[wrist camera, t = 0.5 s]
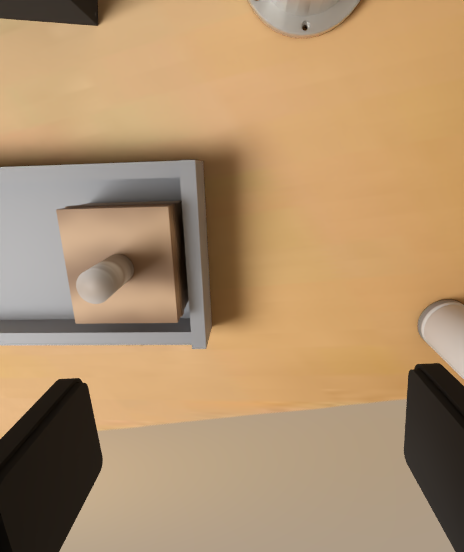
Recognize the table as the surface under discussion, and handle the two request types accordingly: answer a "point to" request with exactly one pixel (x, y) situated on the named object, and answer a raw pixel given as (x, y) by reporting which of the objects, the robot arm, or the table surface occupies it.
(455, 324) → the travel mug
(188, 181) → the bay
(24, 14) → the coffee maker
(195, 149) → the table surface
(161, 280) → the knobbed wooden box
